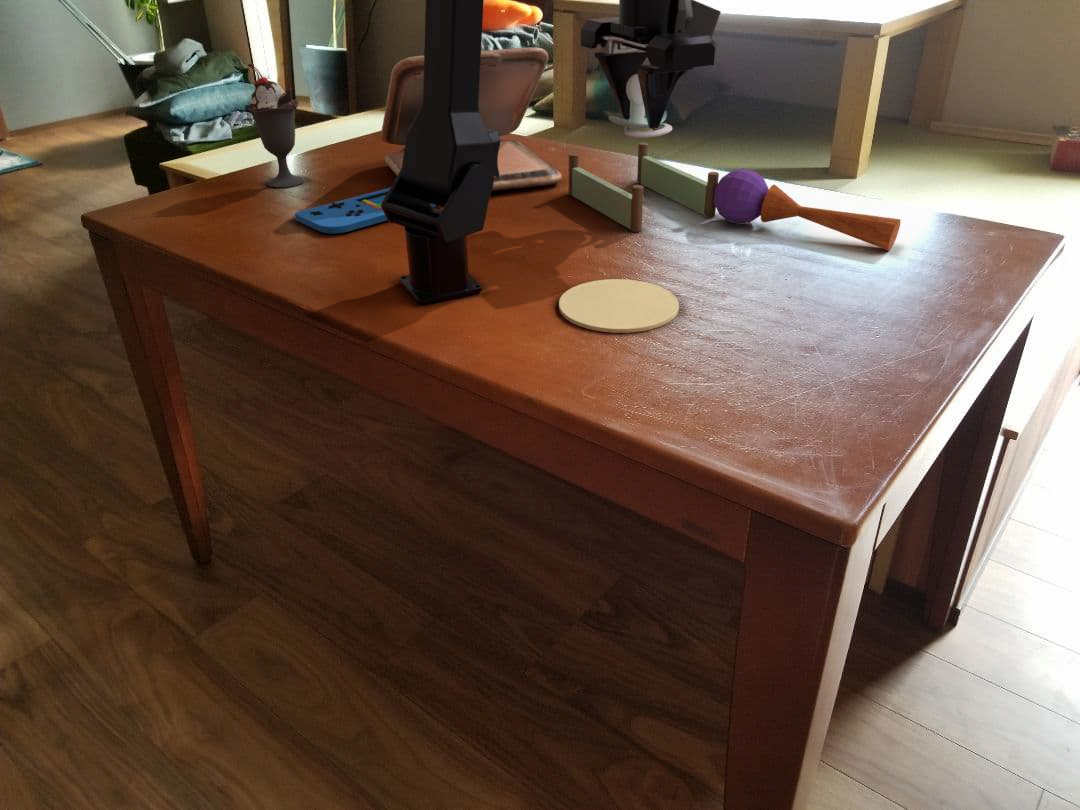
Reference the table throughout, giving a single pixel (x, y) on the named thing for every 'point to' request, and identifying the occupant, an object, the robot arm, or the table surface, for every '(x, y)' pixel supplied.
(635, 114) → the pacifier
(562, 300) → the coaster
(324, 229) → the handheld gaming device
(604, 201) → the rack
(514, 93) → the case
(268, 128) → the sundae
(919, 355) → the table surface
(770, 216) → the kendama
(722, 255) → the table surface
